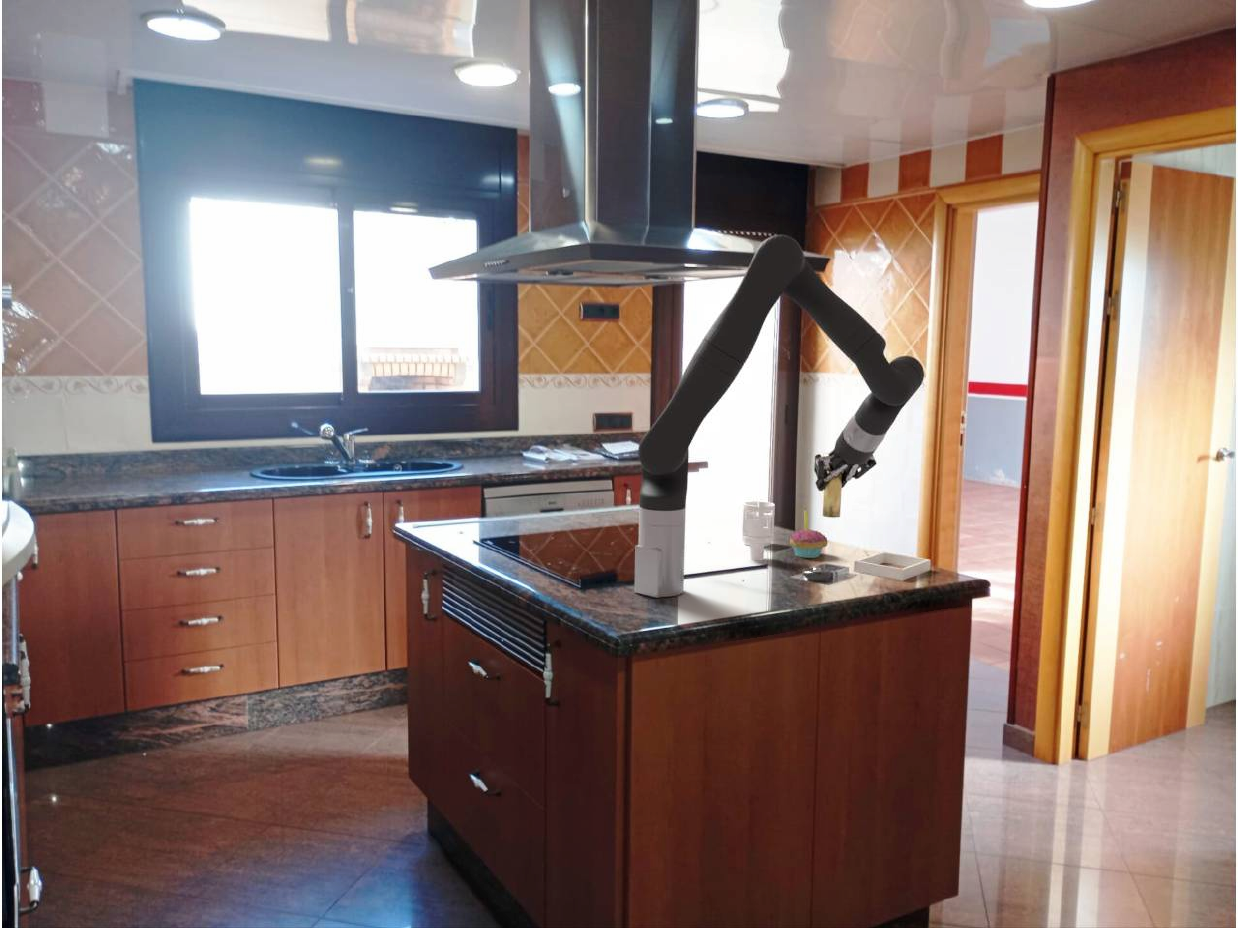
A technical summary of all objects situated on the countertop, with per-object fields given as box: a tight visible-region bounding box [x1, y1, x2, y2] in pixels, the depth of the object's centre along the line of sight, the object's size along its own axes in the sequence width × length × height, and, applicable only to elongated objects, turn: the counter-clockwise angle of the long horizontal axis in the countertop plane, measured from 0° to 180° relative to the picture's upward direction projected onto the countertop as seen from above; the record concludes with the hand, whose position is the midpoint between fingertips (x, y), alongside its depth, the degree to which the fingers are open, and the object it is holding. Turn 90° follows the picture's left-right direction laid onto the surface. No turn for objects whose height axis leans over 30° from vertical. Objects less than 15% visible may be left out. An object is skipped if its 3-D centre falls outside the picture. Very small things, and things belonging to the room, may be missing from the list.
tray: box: [853, 551, 932, 582], centre depth 213 cm, size 13×11×4 cm
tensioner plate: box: [790, 562, 857, 586], centre depth 207 cm, size 12×9×3 cm
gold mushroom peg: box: [822, 452, 843, 519], centre depth 206 cm, size 5×5×13 cm
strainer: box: [741, 499, 776, 562], centre depth 221 cm, size 7×7×15 cm
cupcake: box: [789, 507, 828, 559], centre depth 226 cm, size 9×8×12 cm
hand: (827, 487), depth 208 cm, fingers closed on gold mushroom peg, 3 cm apart
